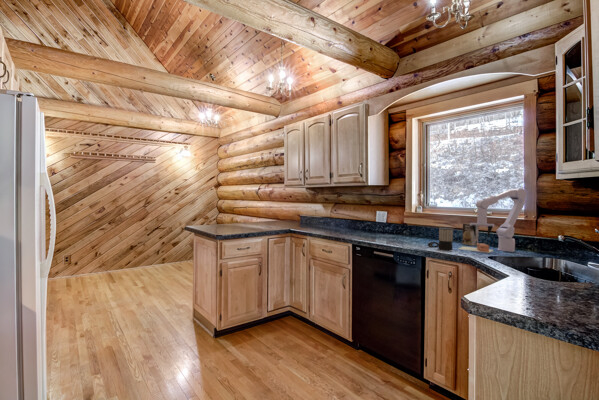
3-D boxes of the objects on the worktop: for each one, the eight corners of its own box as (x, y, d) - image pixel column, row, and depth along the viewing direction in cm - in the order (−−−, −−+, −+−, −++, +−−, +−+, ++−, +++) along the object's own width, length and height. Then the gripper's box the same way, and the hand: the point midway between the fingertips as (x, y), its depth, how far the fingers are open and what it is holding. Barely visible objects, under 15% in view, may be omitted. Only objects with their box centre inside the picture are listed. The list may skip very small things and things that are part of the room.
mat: (493, 250, 211) (493, 249, 211) (489, 253, 200) (489, 252, 200) (463, 246, 223) (463, 246, 223) (457, 249, 212) (457, 248, 212)
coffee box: (461, 244, 235) (462, 223, 235) (467, 244, 237) (468, 223, 237) (472, 246, 227) (472, 224, 226) (478, 245, 229) (479, 224, 229)
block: (488, 251, 202) (489, 245, 202) (480, 251, 204) (480, 245, 204) (484, 249, 211) (485, 243, 211) (476, 249, 212) (477, 243, 212)
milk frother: (453, 251, 206) (454, 229, 206) (428, 249, 211) (428, 227, 211) (451, 247, 219) (451, 227, 219) (427, 246, 225) (427, 226, 224)
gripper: (493, 217, 211) (493, 236, 211) (470, 216, 218) (469, 235, 218) (494, 218, 205) (494, 238, 205) (470, 216, 211) (469, 236, 212)
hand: (481, 236), depth 211 cm, fingers open, 7 cm apart
